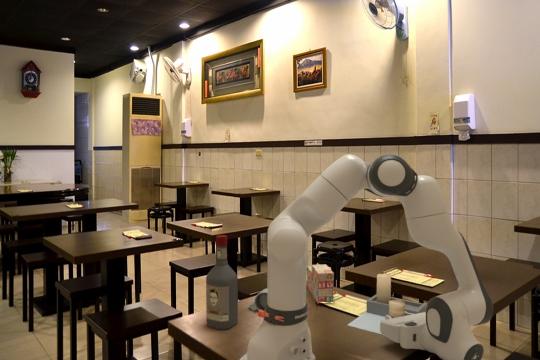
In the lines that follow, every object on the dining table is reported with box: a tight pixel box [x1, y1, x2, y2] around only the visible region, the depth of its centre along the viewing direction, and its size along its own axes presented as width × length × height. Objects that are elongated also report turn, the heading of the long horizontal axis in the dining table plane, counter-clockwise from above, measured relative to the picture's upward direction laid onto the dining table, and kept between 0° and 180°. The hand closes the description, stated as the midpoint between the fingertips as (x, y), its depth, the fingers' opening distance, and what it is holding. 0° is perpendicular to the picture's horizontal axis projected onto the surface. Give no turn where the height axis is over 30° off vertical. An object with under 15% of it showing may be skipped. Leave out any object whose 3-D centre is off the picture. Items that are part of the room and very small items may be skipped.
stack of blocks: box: [306, 264, 335, 305], centre depth 170 cm, size 21×6×12 cm, turn 6°
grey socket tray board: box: [347, 273, 427, 335], centre depth 141 cm, size 24×19×14 cm
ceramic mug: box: [248, 288, 267, 312], centre depth 154 cm, size 11×8×8 cm
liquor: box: [205, 234, 239, 331], centre depth 140 cm, size 9×9×30 cm
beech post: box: [389, 300, 405, 318], centre depth 130 cm, size 5×5×10 cm
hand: (394, 315), depth 131 cm, fingers closed on beech post, 5 cm apart
